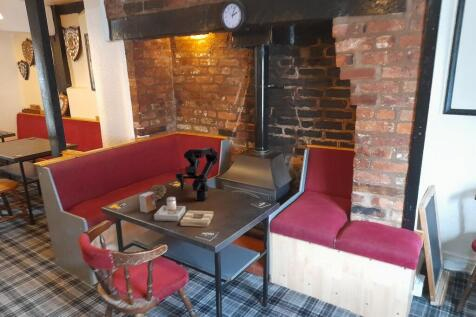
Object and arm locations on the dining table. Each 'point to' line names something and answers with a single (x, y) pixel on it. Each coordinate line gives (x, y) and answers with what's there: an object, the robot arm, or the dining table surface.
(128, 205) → the dining table surface
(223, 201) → the dining table surface
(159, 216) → the tray
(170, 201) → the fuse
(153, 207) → the small box
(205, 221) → the socket block
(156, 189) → the pine cone
